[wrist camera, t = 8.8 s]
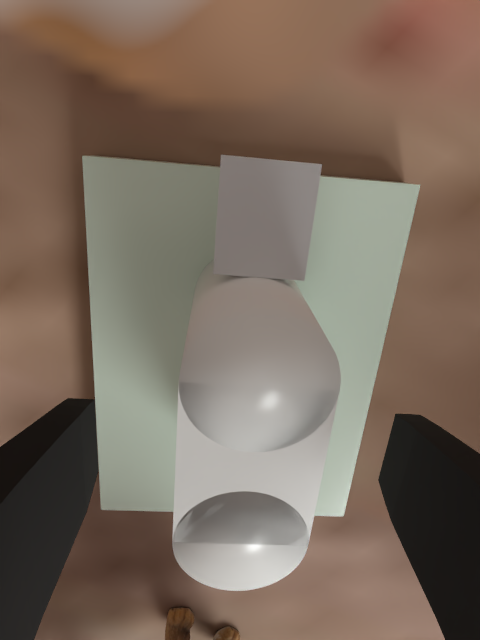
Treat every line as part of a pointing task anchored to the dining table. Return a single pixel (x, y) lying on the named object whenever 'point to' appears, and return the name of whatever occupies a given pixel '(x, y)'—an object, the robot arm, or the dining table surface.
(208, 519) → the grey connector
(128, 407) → the pale green rectangular panel
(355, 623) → the dining table surface
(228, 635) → the lion figurine
